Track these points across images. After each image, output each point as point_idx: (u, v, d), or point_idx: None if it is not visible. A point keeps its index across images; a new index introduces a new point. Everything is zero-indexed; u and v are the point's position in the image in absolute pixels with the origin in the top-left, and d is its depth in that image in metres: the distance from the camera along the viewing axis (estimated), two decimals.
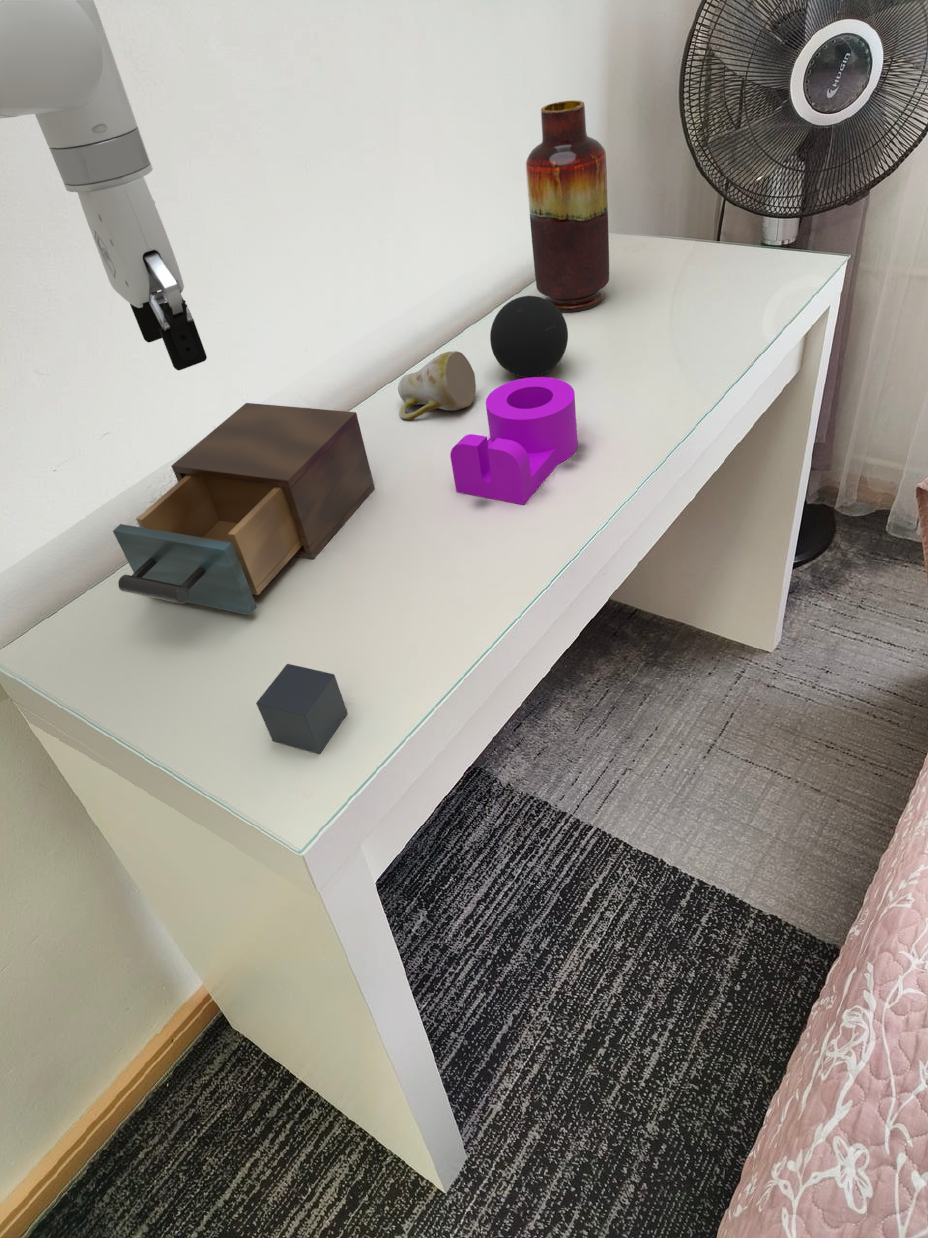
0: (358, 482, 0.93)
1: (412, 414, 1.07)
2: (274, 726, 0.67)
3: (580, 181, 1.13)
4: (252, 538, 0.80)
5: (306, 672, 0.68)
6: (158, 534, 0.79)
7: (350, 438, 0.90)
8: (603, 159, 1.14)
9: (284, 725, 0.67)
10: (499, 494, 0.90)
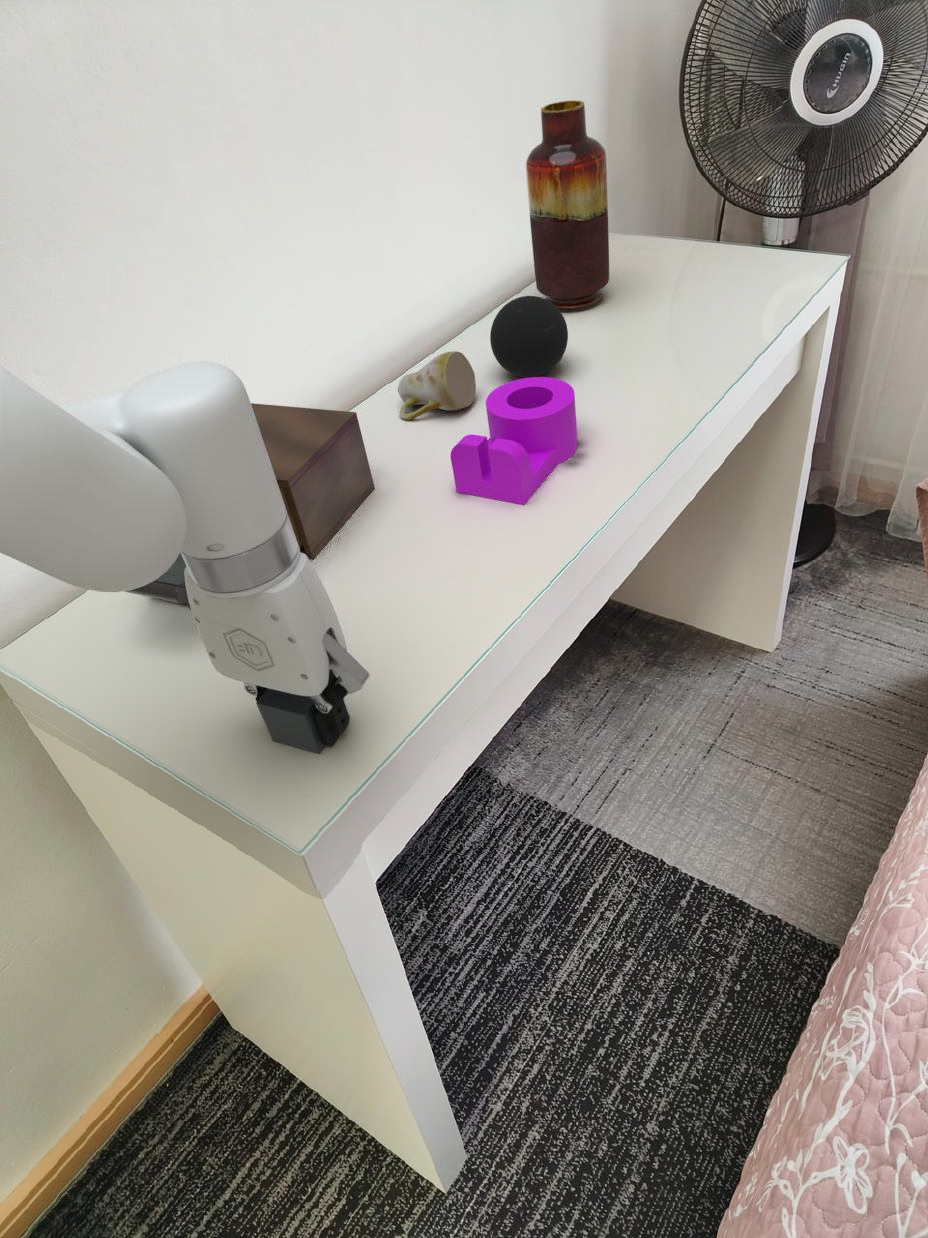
0: (358, 482, 0.93)
1: (412, 414, 1.07)
2: (274, 726, 0.67)
3: (580, 181, 1.13)
4: None
5: None
6: None
7: (350, 438, 0.90)
8: (603, 159, 1.14)
9: (284, 725, 0.67)
10: (499, 494, 0.90)
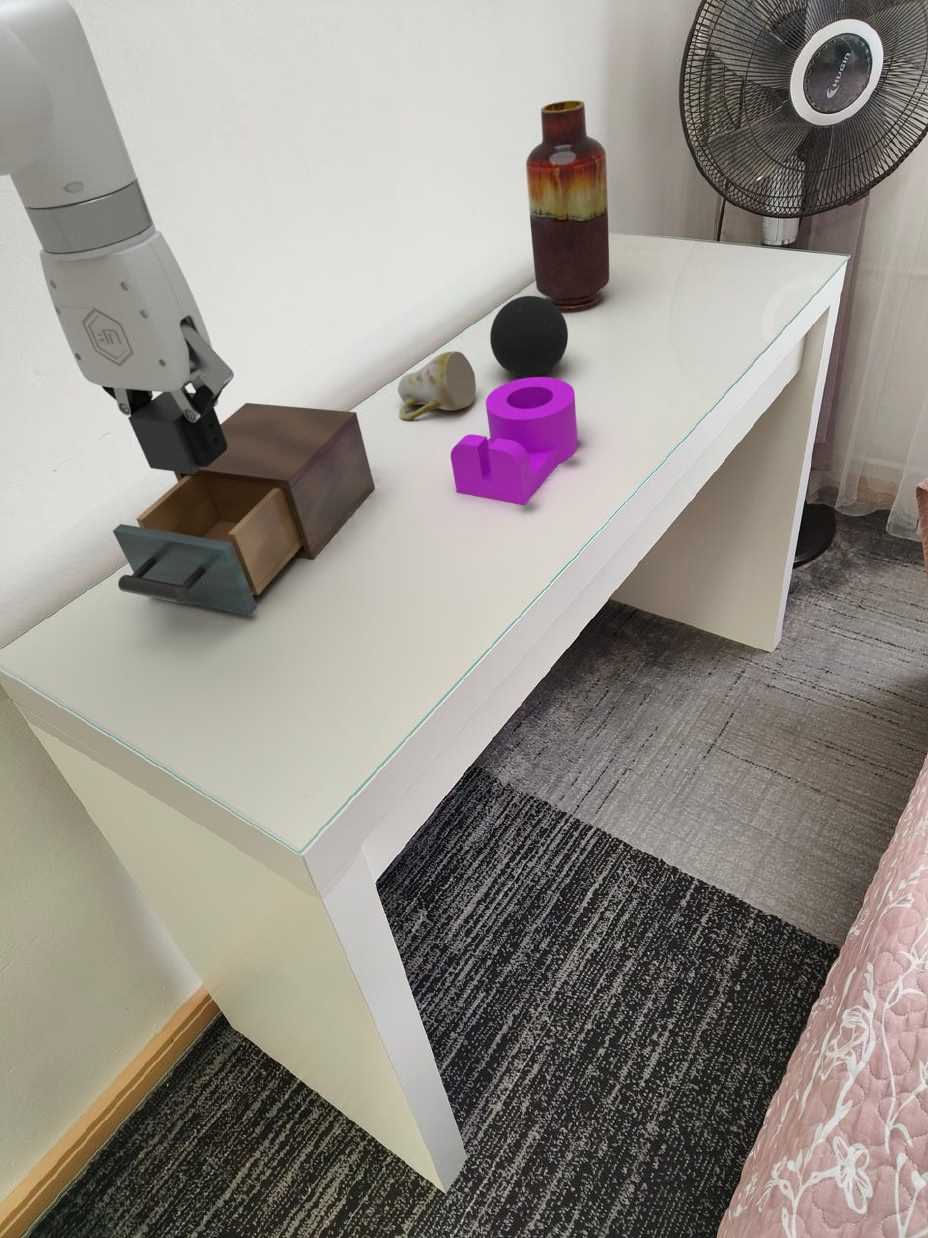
0: (358, 482, 0.93)
1: (412, 414, 1.07)
2: (148, 446, 0.67)
3: (580, 181, 1.13)
4: (252, 538, 0.80)
5: None
6: (158, 534, 0.79)
7: (350, 438, 0.90)
8: (603, 159, 1.14)
9: (156, 442, 0.66)
10: (499, 494, 0.90)
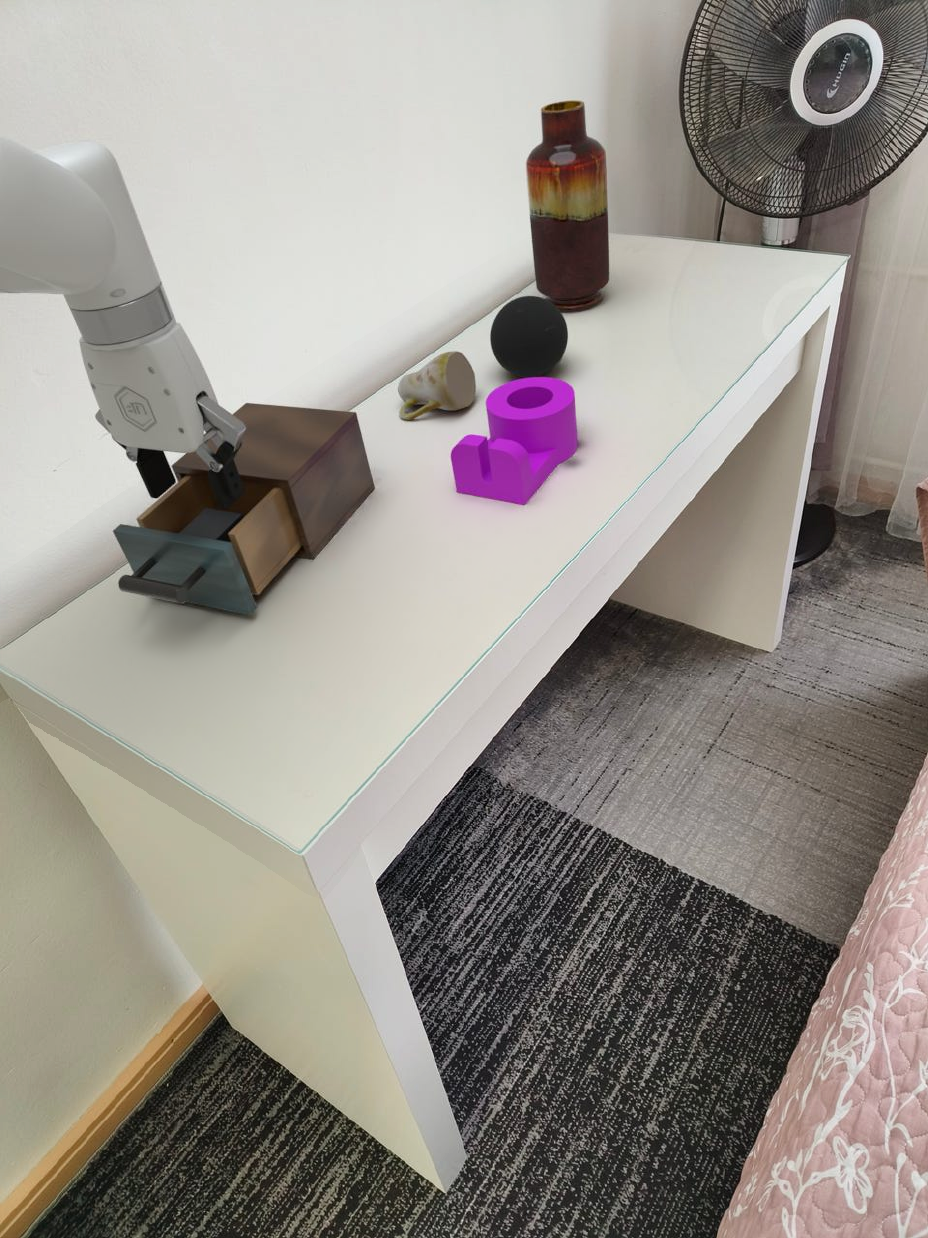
0: (358, 482, 0.93)
1: (412, 414, 1.07)
2: None
3: (580, 181, 1.13)
4: (252, 538, 0.80)
5: (220, 513, 0.84)
6: (158, 534, 0.79)
7: (350, 438, 0.90)
8: (603, 159, 1.14)
9: None
10: (499, 494, 0.90)
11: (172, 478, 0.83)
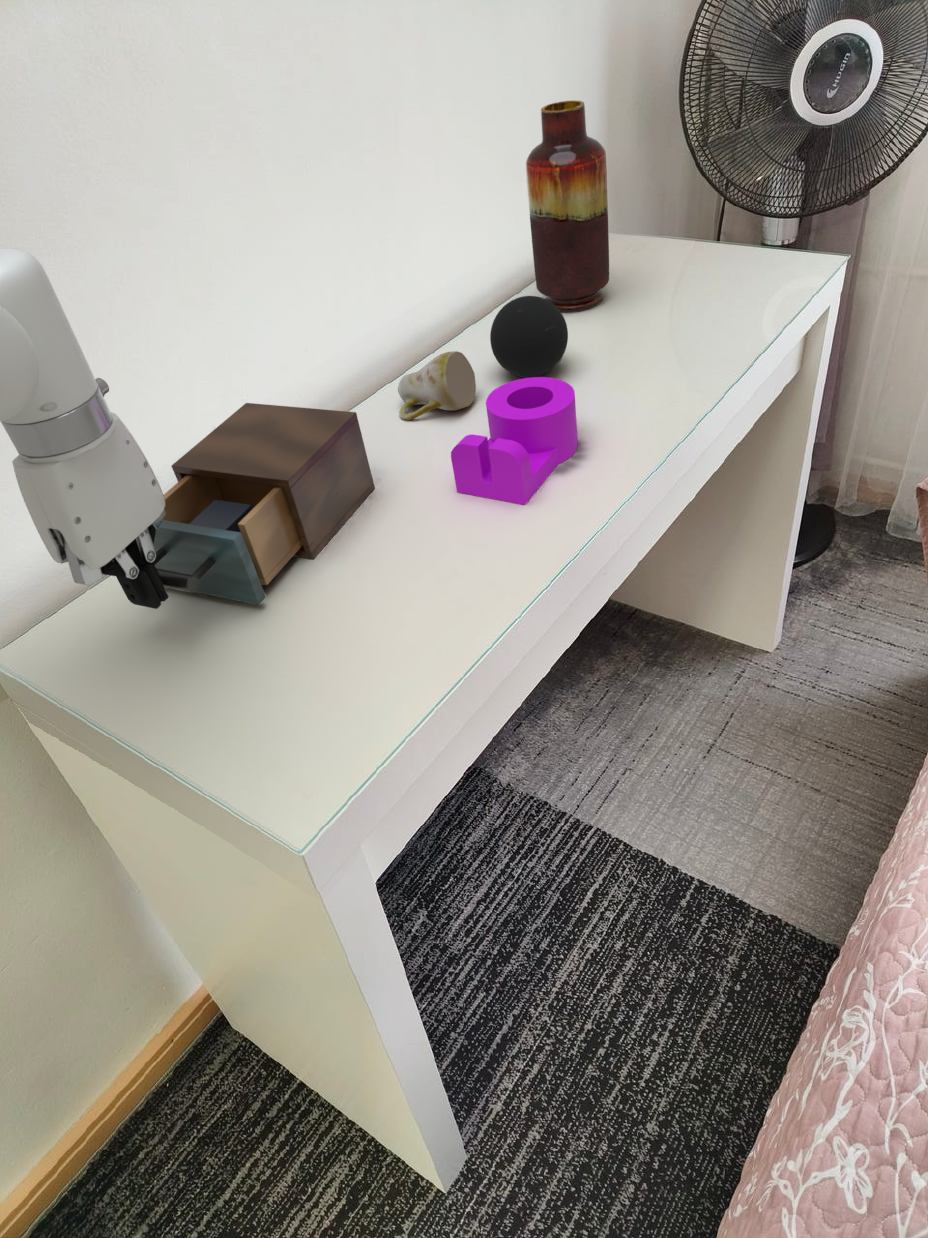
0: (358, 482, 0.93)
1: (412, 414, 1.07)
2: None
3: (580, 181, 1.13)
4: (261, 528, 0.81)
5: (229, 504, 0.85)
6: (168, 525, 0.80)
7: (350, 438, 0.90)
8: (603, 159, 1.14)
9: None
10: (500, 494, 0.90)
11: (158, 596, 0.77)
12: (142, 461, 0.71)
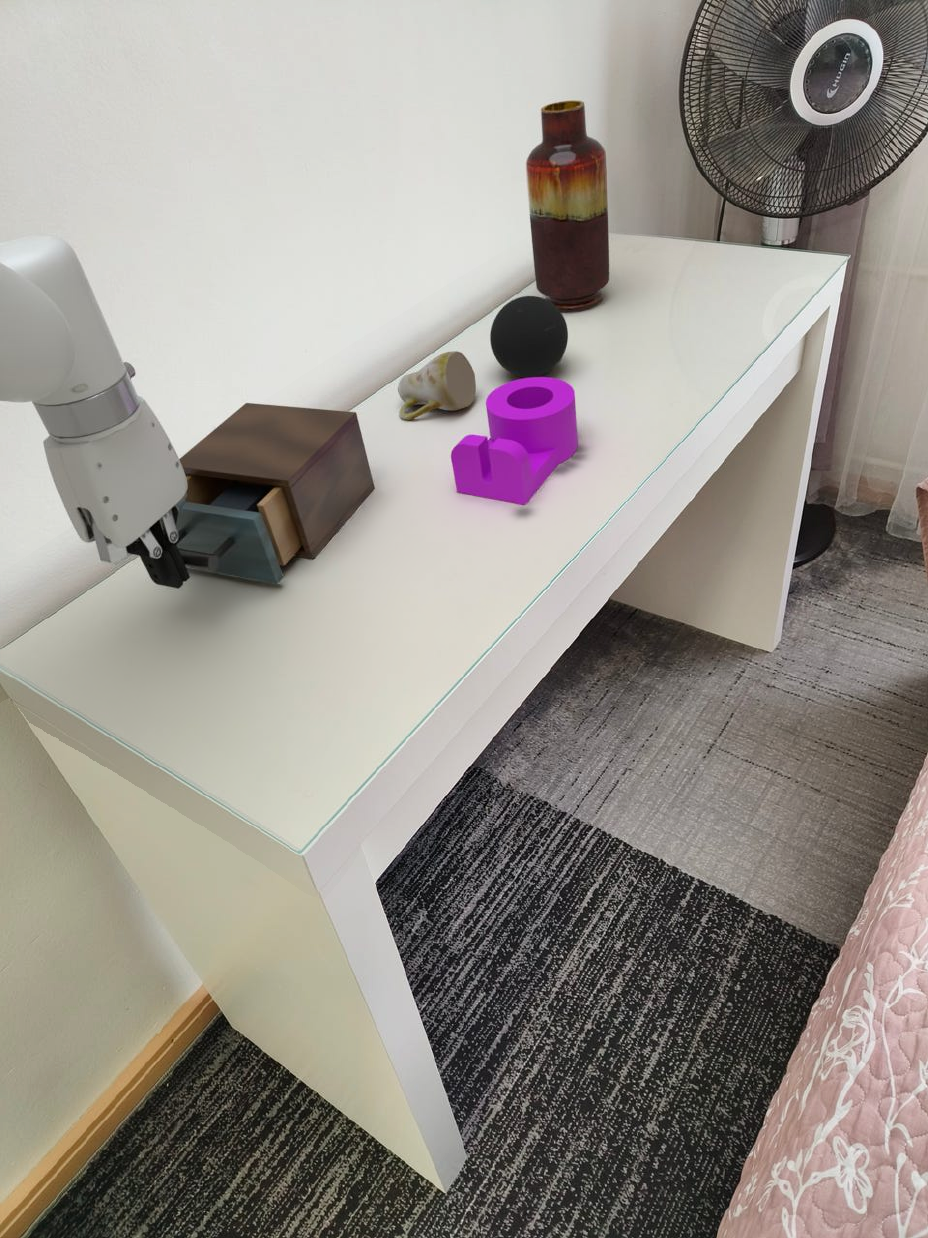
0: (358, 482, 0.93)
1: (412, 414, 1.07)
2: None
3: (580, 181, 1.13)
4: (279, 509, 0.83)
5: (247, 487, 0.87)
6: (189, 506, 0.82)
7: (350, 438, 0.90)
8: (603, 159, 1.14)
9: None
10: (500, 494, 0.90)
11: (180, 576, 0.79)
12: (166, 443, 0.73)
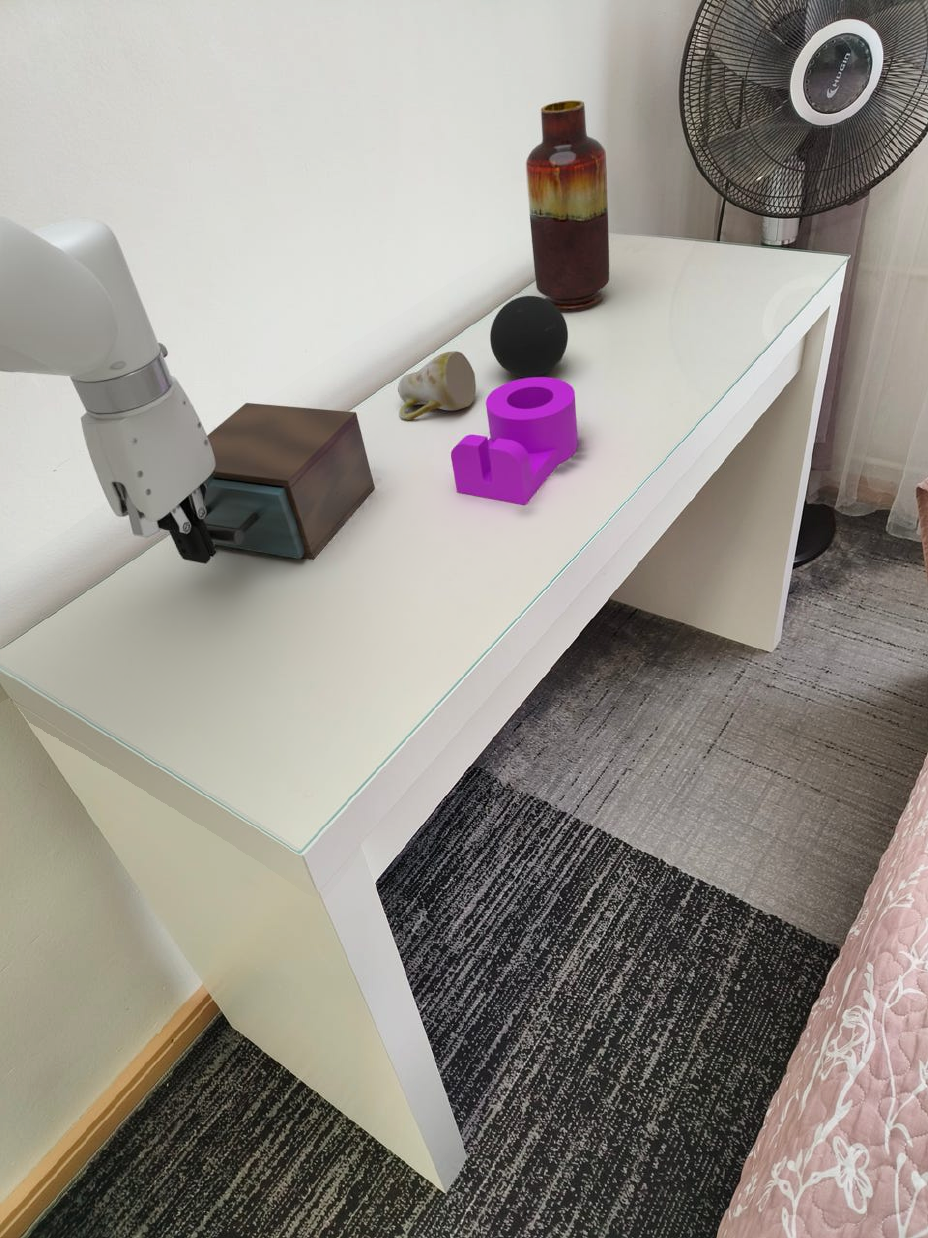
0: (358, 482, 0.93)
1: (412, 414, 1.07)
2: None
3: (580, 181, 1.13)
4: None
5: None
6: (215, 482, 0.85)
7: (350, 438, 0.90)
8: (603, 159, 1.14)
9: None
10: (500, 494, 0.90)
11: (207, 552, 0.82)
12: (196, 422, 0.76)
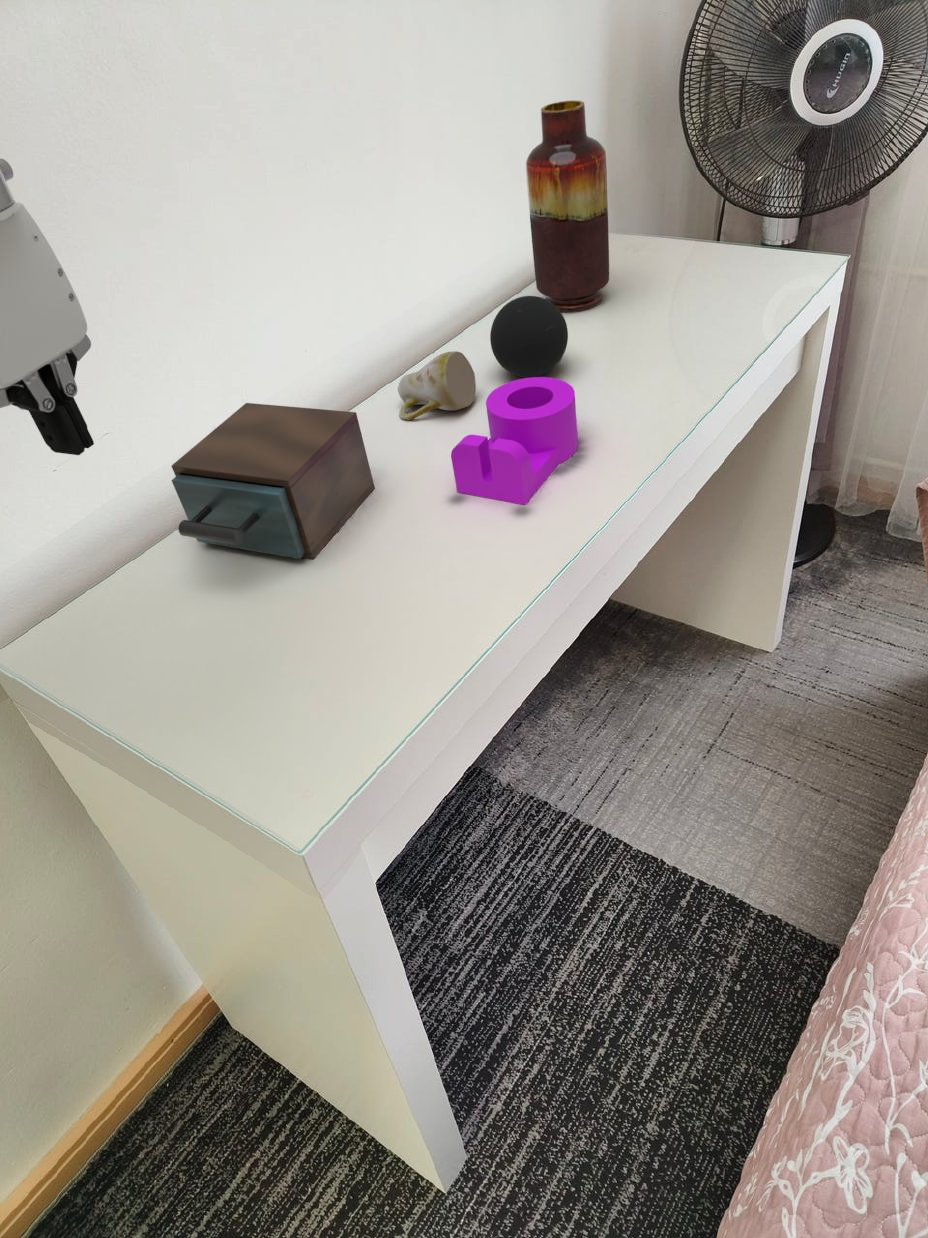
0: (358, 482, 0.93)
1: (412, 414, 1.07)
2: None
3: (580, 181, 1.13)
4: None
5: None
6: (215, 482, 0.85)
7: (350, 438, 0.90)
8: (603, 159, 1.14)
9: None
10: (500, 494, 0.90)
11: (81, 441, 0.66)
12: (56, 267, 0.60)
